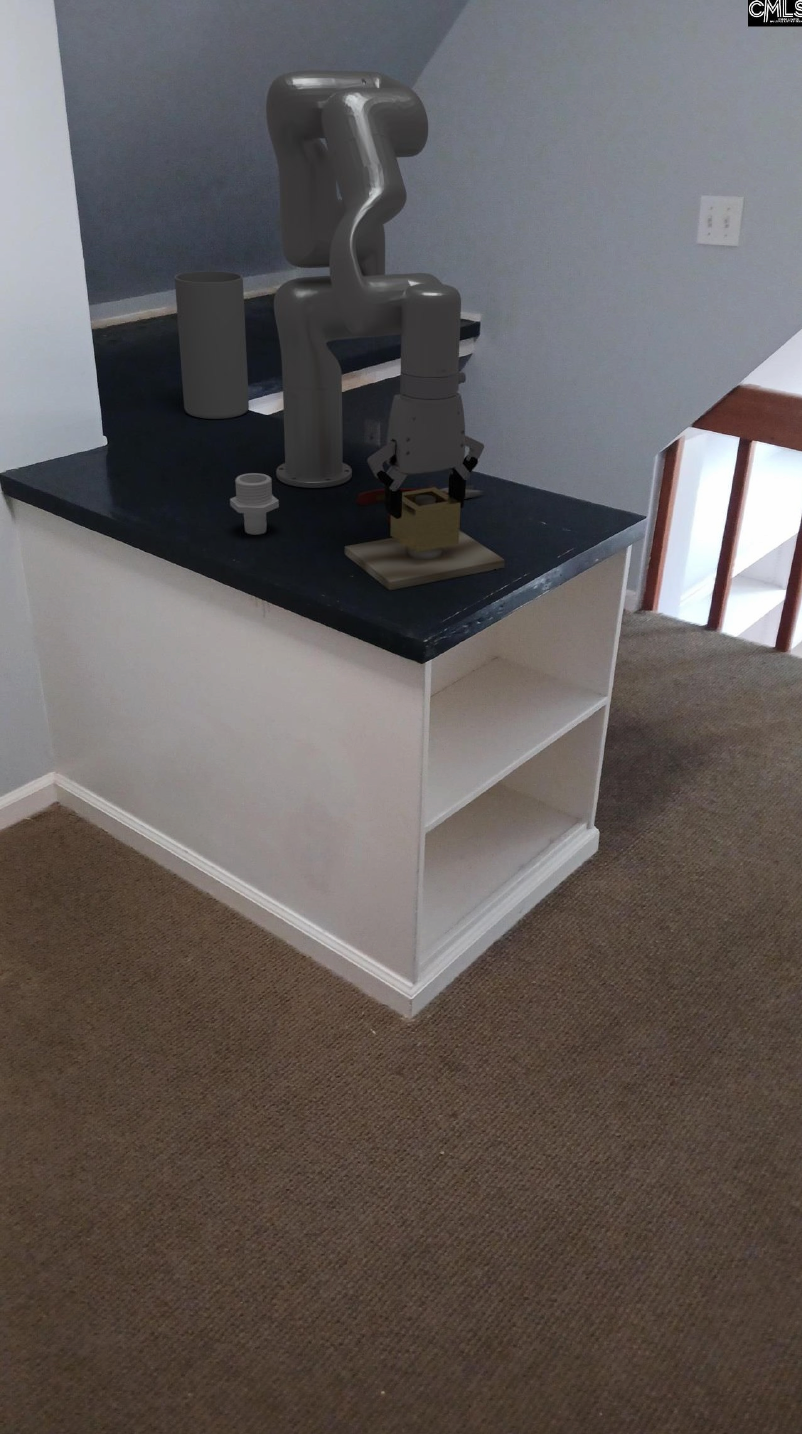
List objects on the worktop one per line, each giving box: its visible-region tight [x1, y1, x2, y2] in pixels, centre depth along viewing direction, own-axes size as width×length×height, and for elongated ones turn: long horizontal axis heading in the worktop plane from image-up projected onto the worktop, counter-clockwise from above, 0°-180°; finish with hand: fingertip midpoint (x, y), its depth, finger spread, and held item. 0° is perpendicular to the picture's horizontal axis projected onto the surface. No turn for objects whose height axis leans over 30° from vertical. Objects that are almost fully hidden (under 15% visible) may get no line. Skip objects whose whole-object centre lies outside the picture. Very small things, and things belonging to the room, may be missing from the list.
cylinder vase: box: [174, 270, 250, 420], centre depth 223 cm, size 12×12×25 cm
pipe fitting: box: [229, 472, 280, 535], centre depth 172 cm, size 6×7×8 cm
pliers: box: [356, 484, 486, 525], centre depth 185 cm, size 12×20×3 cm, turn 122°
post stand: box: [344, 495, 506, 591], centre depth 162 cm, size 14×18×9 cm
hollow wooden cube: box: [390, 486, 461, 552], centre depth 162 cm, size 7×7×6 cm
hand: (425, 510), depth 161 cm, fingers open, 9 cm apart
